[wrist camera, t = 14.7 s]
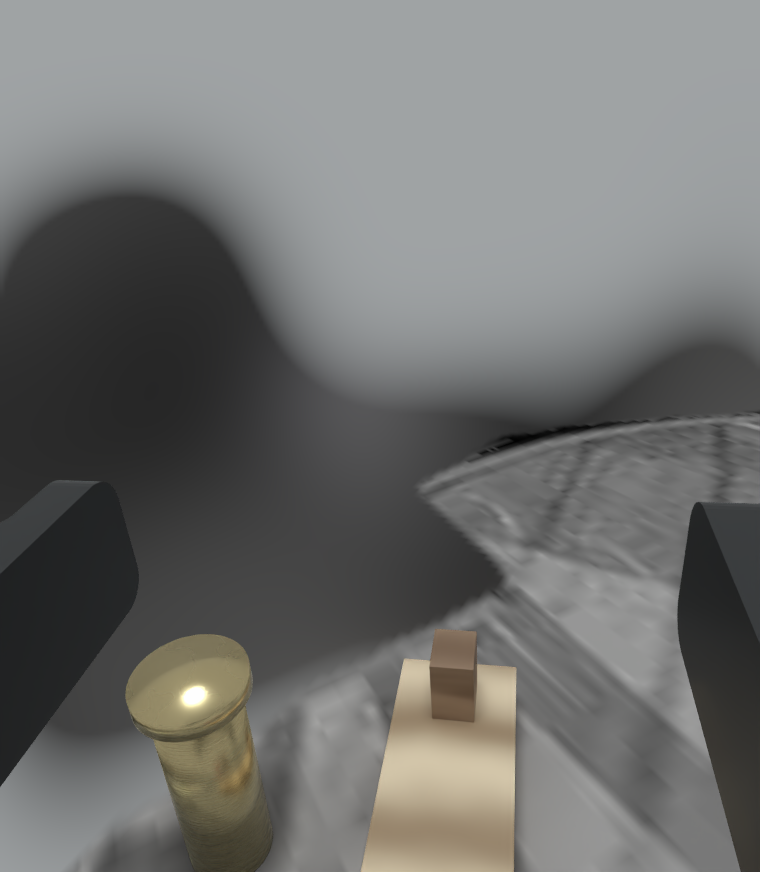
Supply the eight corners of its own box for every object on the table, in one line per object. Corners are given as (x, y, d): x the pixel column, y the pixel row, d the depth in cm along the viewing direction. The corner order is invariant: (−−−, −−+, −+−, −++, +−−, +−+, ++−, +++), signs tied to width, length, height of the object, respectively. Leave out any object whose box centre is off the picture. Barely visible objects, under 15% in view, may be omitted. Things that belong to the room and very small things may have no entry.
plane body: (406, 693, 46) (400, 609, 43) (515, 702, 45) (517, 616, 42) (323, 1135, 27) (301, 1041, 24) (509, 1175, 26) (511, 1081, 22)
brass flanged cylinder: (246, 777, 41) (210, 618, 36) (304, 841, 38) (273, 674, 32) (159, 843, 38) (105, 678, 33) (213, 920, 34) (161, 749, 29)
